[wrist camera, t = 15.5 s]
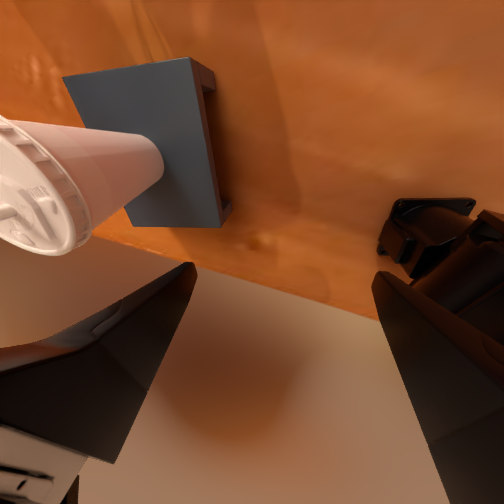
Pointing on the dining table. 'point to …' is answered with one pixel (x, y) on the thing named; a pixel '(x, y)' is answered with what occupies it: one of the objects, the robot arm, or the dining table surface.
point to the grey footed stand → (160, 135)
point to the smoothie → (67, 181)
